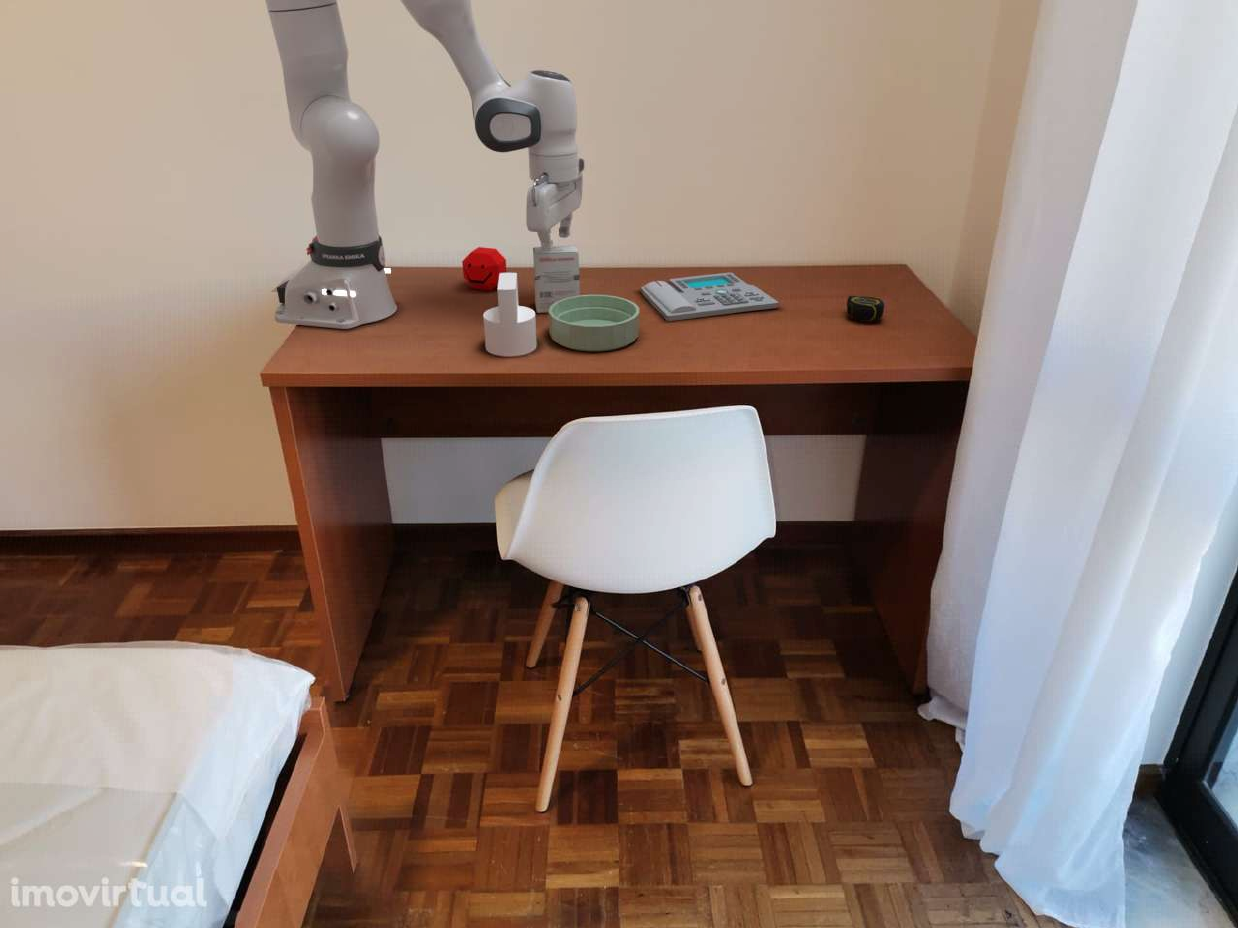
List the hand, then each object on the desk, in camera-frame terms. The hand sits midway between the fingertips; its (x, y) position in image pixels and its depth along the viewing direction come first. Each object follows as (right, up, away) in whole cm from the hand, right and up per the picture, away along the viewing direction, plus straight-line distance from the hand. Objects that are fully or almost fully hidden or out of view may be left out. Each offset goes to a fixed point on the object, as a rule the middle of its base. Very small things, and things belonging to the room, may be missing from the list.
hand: (556, 243), depth 170 cm
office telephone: (+29, -8, +12) cm, 32 cm away
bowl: (+7, -18, -6) cm, 20 cm away
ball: (-16, -5, +17) cm, 24 cm away
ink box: (0, -11, +7) cm, 13 cm away
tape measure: (+59, -14, +4) cm, 60 cm away
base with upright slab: (-7, -21, -10) cm, 24 cm away
